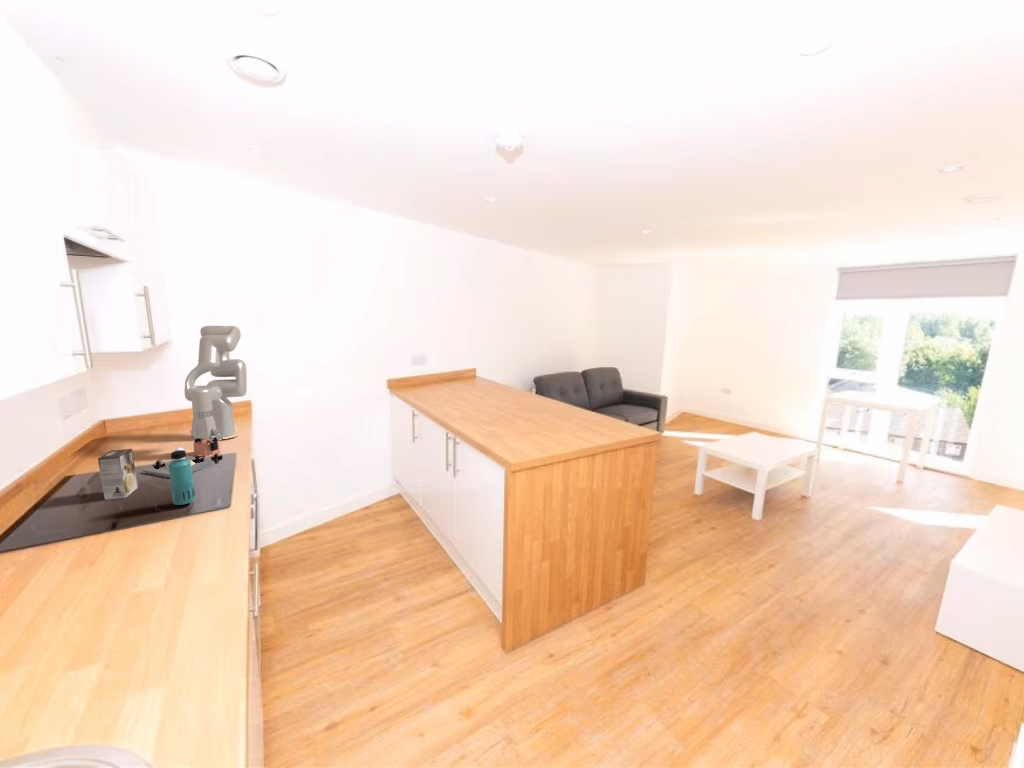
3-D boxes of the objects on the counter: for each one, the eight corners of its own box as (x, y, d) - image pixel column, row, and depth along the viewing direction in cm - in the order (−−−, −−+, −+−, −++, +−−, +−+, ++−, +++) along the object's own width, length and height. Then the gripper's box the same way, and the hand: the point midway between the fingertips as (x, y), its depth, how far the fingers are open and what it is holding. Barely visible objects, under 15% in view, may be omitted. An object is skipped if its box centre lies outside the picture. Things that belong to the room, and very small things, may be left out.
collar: (194, 455, 192) (193, 443, 191) (209, 450, 199) (207, 439, 198) (205, 457, 190) (204, 444, 189) (220, 452, 197) (218, 440, 196)
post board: (143, 473, 170) (140, 451, 169) (187, 458, 188) (185, 439, 186) (174, 478, 166) (172, 457, 164) (217, 463, 183) (215, 443, 181)
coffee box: (117, 490, 155) (111, 449, 152) (138, 487, 157) (132, 448, 154) (103, 500, 146) (97, 458, 144) (126, 497, 149) (120, 456, 146)
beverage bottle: (183, 510, 141) (176, 455, 138) (167, 507, 142) (160, 453, 139) (200, 501, 147) (195, 449, 144) (185, 499, 149) (179, 447, 145)
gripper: (181, 414, 190) (184, 449, 193) (209, 417, 185) (212, 453, 188) (197, 411, 197) (200, 445, 200) (224, 414, 192) (228, 448, 195)
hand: (206, 449), depth 194 cm, fingers open, 9 cm apart
